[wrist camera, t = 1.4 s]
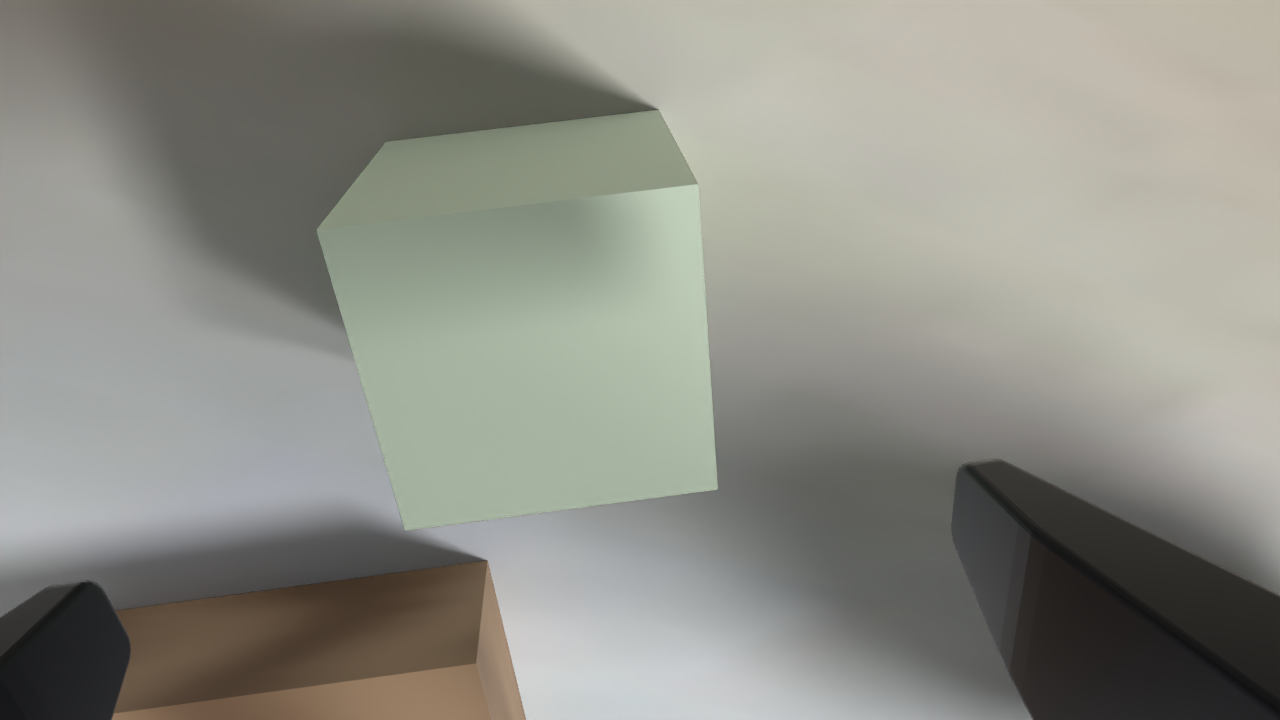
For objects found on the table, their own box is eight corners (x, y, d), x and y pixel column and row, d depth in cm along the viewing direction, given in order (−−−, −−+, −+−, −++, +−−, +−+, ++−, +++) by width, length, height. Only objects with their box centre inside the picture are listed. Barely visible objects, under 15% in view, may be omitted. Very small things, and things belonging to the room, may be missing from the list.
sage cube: (658, 109, 15) (697, 184, 11) (678, 348, 18) (717, 489, 13) (386, 140, 15) (316, 230, 11) (443, 377, 17) (405, 530, 13)
